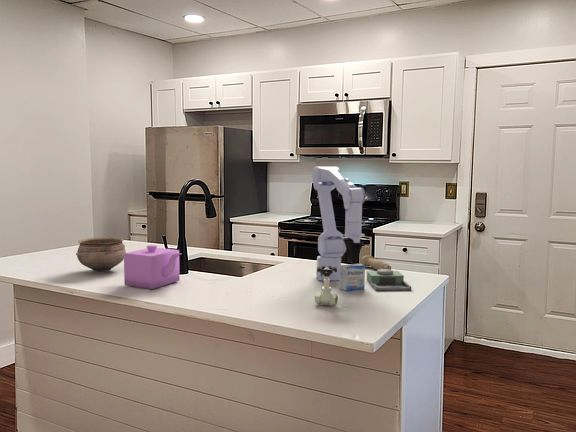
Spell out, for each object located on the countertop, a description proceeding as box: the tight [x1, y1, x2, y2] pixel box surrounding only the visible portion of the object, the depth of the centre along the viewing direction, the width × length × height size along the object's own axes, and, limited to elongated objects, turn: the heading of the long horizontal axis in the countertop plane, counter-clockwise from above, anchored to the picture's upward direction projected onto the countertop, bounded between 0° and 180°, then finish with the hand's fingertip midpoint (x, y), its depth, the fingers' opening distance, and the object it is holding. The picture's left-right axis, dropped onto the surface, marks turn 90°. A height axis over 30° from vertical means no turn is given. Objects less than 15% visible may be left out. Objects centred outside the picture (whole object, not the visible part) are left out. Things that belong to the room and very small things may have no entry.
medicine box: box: [339, 263, 366, 292], centre depth 182 cm, size 8×4×9 cm, turn 115°
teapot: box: [123, 244, 182, 290], centre depth 189 cm, size 15×25×14 cm, turn 63°
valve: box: [314, 266, 339, 307], centre depth 160 cm, size 7×7×12 cm
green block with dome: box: [366, 269, 405, 285], centre depth 192 cm, size 12×8×4 cm
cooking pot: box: [75, 236, 127, 272], centre depth 211 cm, size 25×19×12 cm
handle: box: [360, 254, 392, 271], centre depth 215 cm, size 5×6×15 cm
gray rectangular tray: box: [370, 280, 412, 292], centre depth 184 cm, size 13×9×2 cm
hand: (352, 259), depth 182 cm, fingers open, 6 cm apart
